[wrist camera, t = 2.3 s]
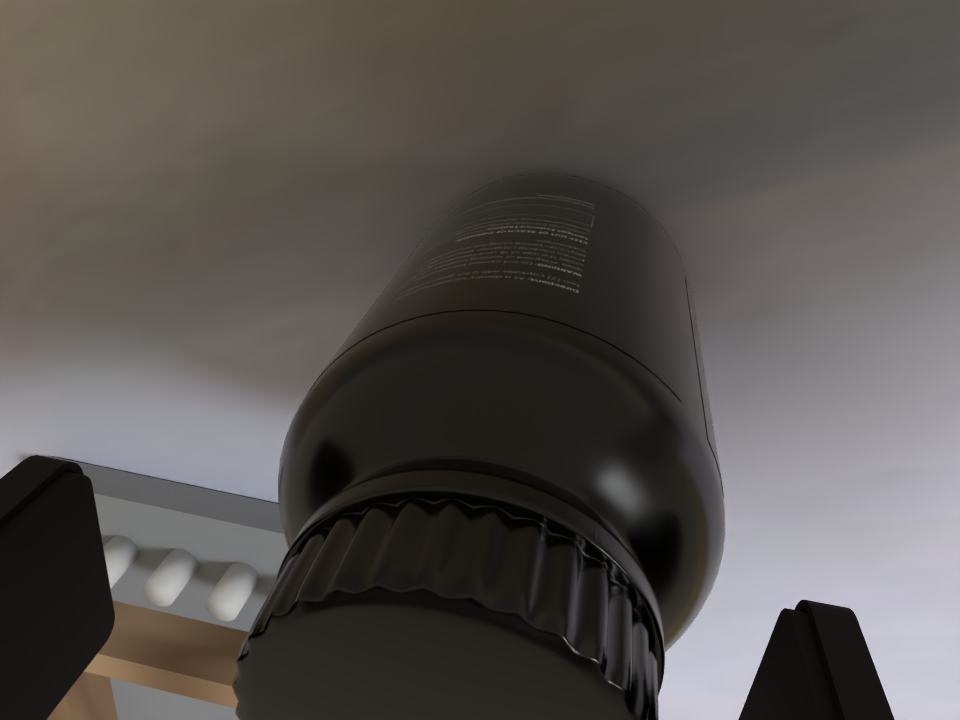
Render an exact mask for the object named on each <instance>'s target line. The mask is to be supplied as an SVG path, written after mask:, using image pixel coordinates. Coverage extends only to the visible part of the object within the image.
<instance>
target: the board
mask: <svg viewBox="0 0 960 720" xmlns="http://www.w3.org/2000/svg"><path fill="white" fill-rule="evenodd" d="M52 458H54V459H60V460H65V461H70V462H74V463H77V464H78V465H79V466H80V467H81V468H82V471H83V474H84V475H86V476H88V477H89V478H90V479H91V482H92V486H93V492H94V497H95V503H96V509H97V514H98V520H99V526H100V532H101V537H102V543H103V549H104V554H105V560H106V566H107V572H108V577H109V583H110V589H111V594H112V600H113V601H118V602H122V603H126V604H131V605H135V606H139V607H143V608H148V609H152V610H156V611H161V612H165V613H169V614H173V615H178V616H182V617H186V618H191V619H195V620H199V621H204V622H208V623H212V624H216V625H221V626H225V627H229V628H234V629H238V630H242V631H246V632H249V631H250V629H251V627H252V625H253V622H254V620H255V618H256V617H257V615H258V613H259V611H260V609H261V608H262V606H263V604H264V602H265V601H266V599H267V597H268V595H269V594H270V592H271V590H272V589H273V587H274V585H275V582H276V578H277V574H278V571H279V568H280V566H281V564H282V561H283V559H284V557H285V555H286V553H287V552H288V550H289V549H288V547H287V544H286V541H285V537H284V532H283V528H282V524H281V518H280V510H279V504H276V503H271V502H267V501H262V500H257V499H252V498H248V497H243V496H238V495H233V494H229V493H224V492H219V491H214V490H209V489H205V488H200V487H195V486H190V485H186V484H181V483H176V482H171V481H166V480H162V479H157V478H152V477H147V476H143V475H138V474H133V473H128V472H124V471H119V470H114V469H109V468H104V467H100V466H95V465H90V464H85V463H81V462H76V461H71V460H66V459H61V458H57V457H52ZM110 682H111V687H112V692H113V697H114V702H115V706H116V711H117V716H118V720H239V719H238V717H237V716H236V714H235V711H236V709H235V708H231V707H227V706H223V705H219V704H215V703H211V702H207V701H203V700H199V699H195V698H190V697H186V696H182V695H178V694H174V693H170V692H166V691H162V690H158V689H154V688H150V687H146V686H142V685H138V684H134V683H130V682H126V681H122V680H118V679H114V678H110Z"/></svg>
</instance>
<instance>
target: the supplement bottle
mask: <svg viewBox="0 0 960 720" xmlns="http://www.w3.org/2000/svg"><path fill="white" fill-rule="evenodd" d="M278 500H279V510H280V518H281V524H282V528H283V532H284V537H285V541H286V544H287V547H288V549H289V550H288V552H287V553H286V555H285V557H284V559H283V561H282V564H281V566H280V568H279V571H278V574H277V578H276V582H275V585H274V587H273V589H272V590H271V592H270V594H269V595H268V597H267V599H266V601H265V602H264V604H263V606H262V608H261V609H260V611H259V613H258V615H257V617H256V618H255V620H254V622H253V625H252V627H251V629H250V631H249V632H248V634H247V636H246V638H245V640H244V641H243V643H242V645H241V647H240V650H239V653H238V656H237V659H236V664H237V672H236V675H235V677H234V680H233V683H232V689H233V691H234V694H235V696H236V698H237V700H238V703H237V706H236V711H235V714H236V716H237V717H238V719H239V720H658V695H659V692H660V689H661V685H662V681H663V675H664V665H665V652H666V651H667V650H668V649H669V648H671V647H672V646H673V645H674V644H675V643H676V641H677V640H678V639H679V638H680V637H681V636H682V635H683V634H684V633H685V631H686V630H687V629H688V628H689V626H690V625H691V624H692V622H693V621H694V619H695V618H696V617H697V615H698V614H699V612H700V611H701V609H702V607H703V605H704V603H705V602H706V600H707V598H708V596H709V594H710V592H711V590H712V587H713V585H714V582H715V580H716V577H717V574H718V571H719V567H720V563H721V559H722V554H723V549H724V539H725V510H724V495H723V487H722V480H721V474H720V467H719V461H718V454H717V448H716V441H715V435H714V429H713V422H712V416H711V410H710V403H709V397H708V391H707V384H706V378H705V371H704V365H703V359H702V352H701V346H700V340H699V333H698V327H697V321H696V314H695V308H694V302H693V298H692V293H691V288H690V284H689V280H688V276H687V273H686V270H685V268H684V265H683V263H682V260H681V258H680V256H679V254H678V252H677V250H676V248H675V246H674V244H673V243H672V241H671V240H670V238H669V237H668V235H667V234H666V232H665V231H664V230H663V229H662V227H661V226H660V225H659V224H658V223H657V221H656V220H655V219H653V218H652V217H651V216H650V215H649V214H648V213H647V212H646V211H645V210H644V209H643V208H641V207H640V206H639V205H638V204H636V203H635V202H634V201H632V200H630V199H629V198H627V197H626V196H624V195H623V194H621V193H619V192H617V191H615V190H613V189H611V188H609V187H607V186H604V185H602V184H599V183H597V182H594V181H590V180H587V179H583V178H579V177H574V176H568V175H560V174H531V175H522V176H517V177H512V178H508V179H504V180H501V181H498V182H495V183H492V184H490V185H488V186H485V187H483V188H481V189H479V190H477V191H475V192H473V193H472V194H470V195H468V196H467V197H465V198H464V199H462V200H461V201H460V202H458V203H457V204H456V205H454V206H453V207H452V208H451V209H450V210H449V211H448V212H446V213H445V214H444V215H443V216H442V217H441V218H440V219H439V221H438V222H437V223H436V224H435V225H434V226H433V227H432V229H431V230H430V231H429V232H428V234H427V235H426V236H425V237H424V238H423V239H422V241H421V242H420V243H419V245H418V246H417V247H416V249H415V250H414V251H413V253H412V254H411V255H410V257H409V258H408V259H407V261H406V262H405V263H404V265H403V266H402V267H401V269H400V270H399V271H398V273H397V274H396V275H395V276H394V278H393V279H392V280H391V282H390V283H389V284H388V286H387V287H386V288H385V290H384V291H383V292H382V294H381V295H380V296H379V298H378V299H377V300H376V302H375V303H374V304H373V306H372V307H371V308H370V310H369V311H368V312H367V314H366V315H365V316H364V318H363V319H362V320H361V322H360V323H359V324H358V325H357V327H356V328H355V329H354V331H353V332H352V333H351V335H350V336H349V337H348V339H347V340H346V341H345V343H344V344H343V345H342V347H341V348H340V349H339V351H338V352H337V353H336V355H335V356H334V357H333V359H332V360H331V361H330V363H329V364H328V365H327V367H326V368H325V369H324V371H323V372H322V373H321V375H320V376H319V378H318V379H317V380H316V382H315V383H314V385H313V386H312V387H311V389H310V390H309V392H308V394H307V395H306V397H305V398H304V400H303V402H302V404H301V405H300V407H299V409H298V411H297V413H296V414H295V416H294V418H293V420H292V422H291V425H290V427H289V430H288V433H287V435H286V438H285V442H284V446H283V450H282V454H281V458H280V467H279V475H278Z"/></svg>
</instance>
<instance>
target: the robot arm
mask: <svg viewBox="0 0 960 720" xmlns="http://www.w3.org/2000/svg"><path fill="white" fill-rule="evenodd" d="M114 622H115V612H114V606H113V600H112V594H111V589H110V583H109V577H108V572H107V566H106V560H105V554H104V549H103V543H102V537H101V532H100V526H99V520H98V514H97V509H96V503H95V497H94V492H93V486H92V482H91V479H90V478H89V477H88V476H86V475H84V474H83V471H82V468H81V467H80V466H79V465H78V464H77V463H74V462H70V461H65V460H60V459H54V458H49V457H44V456H38V455H35V456H30V457H28V458H27V459H25V460H23V461H22V462H21V463H19V464H18V465H17V466H16V467H15V468H13V469H12V470H11V471H10V472H8V473H7V474H6V475H5V476H3V477H2V478H1V479H0V720H47V718H48V717H49V716H50V714H51V713H52V712H53V711H54V709H55V708H56V707H57V705H58V704H59V703H60V701H61V700H62V699H63V698H64V696H65V695H66V694H67V692H68V691H69V690H70V689H71V687H72V686H73V685H74V683H75V682H76V681H77V679H78V678H79V677H80V676H81V674H82V673H83V672H84V670H85V669H86V668H87V667H88V665H89V664H90V663H91V661H92V660H93V659H94V657H95V656H96V655H97V654H98V652H99V651H100V650H101V648H102V647H103V646H104V645H105V643H106V642H107V640H108V639H109V637H110V635H111V632H112V630H113V626H114ZM739 720H894V717H893V715H892V712H891V709H890V706H889V704H888V701H887V698H886V696H885V693H884V690H883V688H882V685H881V682H880V679H879V677H878V674H877V671H876V669H875V666H874V663H873V661H872V658H871V655H870V652H869V650H868V647H867V644H866V642H865V639H864V636H863V634H862V631H861V628H860V626H859V623H858V620H857V618H856V616H855V614H854V612H853V611H852V610H851V609H849V608H845V607H840V606H835V605H829V604H824V603H819V602H813V601H808V600H801V601H800V602H799V603H798V604H797V606H796V608H795V610H792V609H787V608H784V609H783V610H782V611H781V613H780V615H779V617H778V620H777V622H776V625H775V627H774V630H773V632H772V635H771V638H770V640H769V643H768V645H767V648H766V650H765V653H764V656H763V658H762V661H761V663H760V666H759V668H758V671H757V674H756V676H755V679H754V681H753V684H752V687H751V689H750V692H749V694H748V697H747V699H746V702H745V705H744V707H743V710H742V712H741V715H740V717H739Z"/></svg>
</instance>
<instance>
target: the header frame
mask: <svg viewBox="0 0 960 720" xmlns="http://www.w3.org/2000/svg"><path fill="white" fill-rule="evenodd" d="M113 606H114V612H115V622H114V626H113V630H112V632H111V635H110V637H109V639H108V640H107V642H106V643H105V645H104V646H103V647H102V648H101V650H100V651H99V652H98V654H97V655H96V656H95V657H94V659H93V660H92V661H91V663H90V664H89V665H88V667H87V668H86V669H85V670H84V672H83V673H82V674H81V676H80V677H79V678H78V679H77V681H76V682H75V683H74V685H73V686H72V687H71V689H70V690H69V691H68V692H67V694H66V695H65V696H64V698H63V699H62V700H61V701H60V703H59V704H58V705H57V707H56V708H55V709H54V711H53V712H52V713H51V714H50V716H49V717H48V718H47V720H118V716H117V711H116V706H115V702H114V697H113V692H112V687H111V682H110V678H114V679H118V680H122V681H126V682H130V683H134V684H138V685H142V686H146V687H150V688H154V689H158V690H162V691H166V692H170V693H174V694H178V695H182V696H186V697H190V698H195V699H199V700H203V701H207V702H211V703H215V704H219V705H223V706H227V707H231V708H235V709H236V706H237V703H238V700H237V698H236V696H235V694H234V691H233V689H232V683H233V680H234V677H235V675H236V672H237V664H236V659H237V656H238V653H239V650H240V647H241V645H242V643H243V641H244V640H245V638H246V636H247V634H248V632H246V631H242V630H238V629H234V628H229V627H225V626H221V625H216V624H212V623H208V622H204V621H199V620H195V619H191V618H186V617H182V616H178V615H173V614H169V613H165V612H161V611H156V610H152V609H148V608H143V607H139V606H135V605H131V604H126V603H122V602H118V601H113Z"/></svg>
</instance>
